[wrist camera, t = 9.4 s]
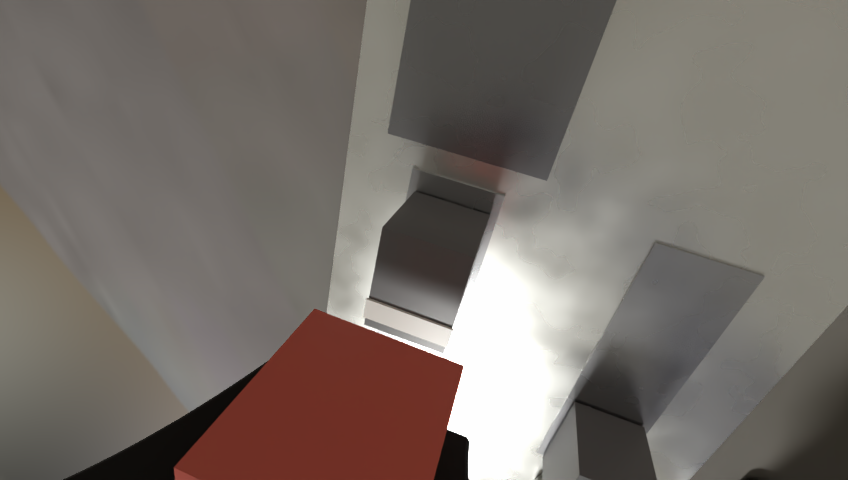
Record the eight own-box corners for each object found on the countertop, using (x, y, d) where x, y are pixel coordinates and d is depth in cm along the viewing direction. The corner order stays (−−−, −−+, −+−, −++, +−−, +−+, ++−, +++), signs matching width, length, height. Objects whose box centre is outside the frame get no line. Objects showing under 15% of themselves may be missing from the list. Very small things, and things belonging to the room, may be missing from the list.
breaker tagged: (491, 215, 15) (476, 259, 12) (463, 299, 17) (444, 356, 14) (413, 190, 16) (379, 227, 13) (394, 275, 18) (361, 325, 15)
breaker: (645, 428, 18) (666, 511, 14) (605, 481, 19) (616, 565, 16) (573, 401, 18) (578, 477, 15) (541, 456, 20) (539, 533, 17)
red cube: (464, 365, 10) (407, 575, 6) (427, 463, 12) (365, 672, 8) (314, 308, 10) (173, 467, 7) (302, 411, 12) (187, 581, 8)
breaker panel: (1028, 36, 11) (1123, 35, 9) (625, 515, 22) (631, 557, 21) (398, -98, 13) (374, -121, 12) (325, 395, 25) (308, 423, 23)
